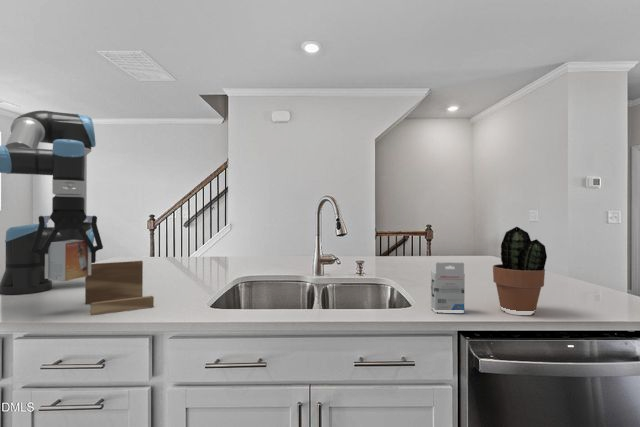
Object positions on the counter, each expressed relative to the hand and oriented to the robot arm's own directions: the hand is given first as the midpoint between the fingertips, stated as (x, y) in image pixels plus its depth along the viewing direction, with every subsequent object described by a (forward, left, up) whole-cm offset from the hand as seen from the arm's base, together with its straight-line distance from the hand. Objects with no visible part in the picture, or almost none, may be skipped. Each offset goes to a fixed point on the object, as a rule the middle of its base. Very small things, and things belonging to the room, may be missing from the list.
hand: (68, 276), depth 109 cm
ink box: (+60, +90, -10) cm, 108 cm away
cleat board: (-1, +13, -10) cm, 16 cm away
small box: (0, 0, -1) cm, 1 cm away
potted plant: (+72, +107, -10) cm, 129 cm away
